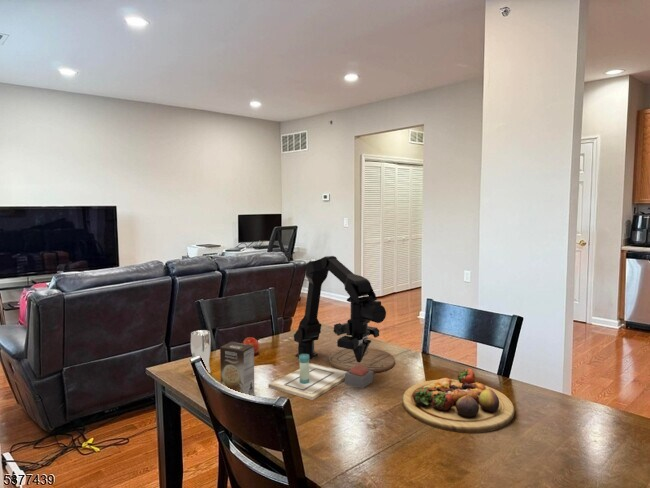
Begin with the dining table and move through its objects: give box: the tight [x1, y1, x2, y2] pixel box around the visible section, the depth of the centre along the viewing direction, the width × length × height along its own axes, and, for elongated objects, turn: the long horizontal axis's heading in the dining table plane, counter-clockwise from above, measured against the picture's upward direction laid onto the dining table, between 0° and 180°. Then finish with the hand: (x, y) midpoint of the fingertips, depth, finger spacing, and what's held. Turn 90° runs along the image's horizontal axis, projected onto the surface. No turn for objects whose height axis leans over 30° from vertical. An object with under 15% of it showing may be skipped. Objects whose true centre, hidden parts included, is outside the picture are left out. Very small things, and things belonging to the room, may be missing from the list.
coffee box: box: [219, 341, 255, 396], centre depth 142 cm, size 9×6×16 cm
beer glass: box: [190, 329, 212, 376], centre depth 160 cm, size 7×7×15 cm
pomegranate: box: [242, 336, 261, 355], centre depth 181 cm, size 7×7×10 cm
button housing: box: [344, 370, 374, 389], centre depth 152 cm, size 7×7×4 cm
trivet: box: [328, 347, 395, 375], centre depth 172 cm, size 25×25×2 cm
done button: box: [351, 365, 367, 376], centre depth 152 cm, size 4×4×3 cm
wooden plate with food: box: [401, 368, 516, 434], centre depth 134 cm, size 32×32×8 cm
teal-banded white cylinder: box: [298, 354, 310, 384], centre depth 150 cm, size 3×3×9 cm
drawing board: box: [267, 362, 347, 401], centre depth 153 cm, size 24×18×1 cm
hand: (358, 361), depth 152 cm, fingers closed
